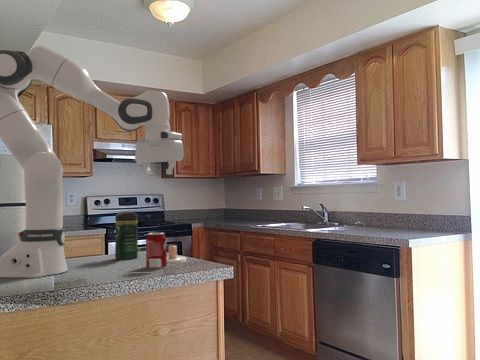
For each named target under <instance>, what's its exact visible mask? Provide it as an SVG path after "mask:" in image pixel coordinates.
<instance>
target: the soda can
mask: <svg viewBox="0 0 480 360" xmlns="http://www.w3.org/2000/svg"><path fill="white" fill-rule="evenodd" d="M167 240H168V239H167V237H166V235H165V232H161V231H160V232H159V231H158V232H157V231H155V232H154V231H153V232H148V233H147V237H146V238H145V252H146V253H145V256H146V257H145V263H146V264H145V267H146V269H150V270H158V269H159V270H160V269H165V268H167V264H168V263H167V257H168V254H167V247H168V245H167V244H168V243H167Z"/></svg>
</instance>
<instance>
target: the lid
mask: <svg viewBox="0 0 480 360" xmlns="http://www.w3.org/2000/svg"><path fill="white" fill-rule="evenodd" d="M177 246H178V245H168V256H167V264H171V263H173V264H174V262H182V263H184V262H183V261H186V262H187V257H186V256H178V255H177V254H178V252H177V251H178V249H177V248H178V247H177Z"/></svg>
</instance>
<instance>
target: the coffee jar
mask: <svg viewBox="0 0 480 360" xmlns="http://www.w3.org/2000/svg"><path fill="white" fill-rule="evenodd" d="M138 219H139V218H138V214H137V213H136V212H134V211H130V210H129V211H128V210H126V211H120V212H118V213H116V214H115V221H114V222H115V247H114V248H115V252H114V254H115V255H114V257H115V259H116V260H118V261H127V260H136V259H138V257H139V256H138V254H139V251H138V250H139V248H138V246H139V245H138V243H139V242H138V241H139V240H138V228H139V227H138V223H139V222H138V221H139V220H138Z"/></svg>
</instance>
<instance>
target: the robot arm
mask: <svg viewBox="0 0 480 360" xmlns="http://www.w3.org/2000/svg"><path fill="white" fill-rule="evenodd" d="M33 80H38V81H41V82H44V83H46V84H47V85H49V86H51V87H52V88H54V89H56V90H57V91H60V92H62V93H64V94H67V95H69V96H72V97H74V98H76V99H78V100H81V101H83V102H85V103H88V105H91V106H92V107H94V108H96V109H97V110H99V111H101V112H103V113H104V114H106V115H107V116H109V117H110V118H111V119H112V120H113V121H114V122H115V123H116V124H117V125H118V127H119V128H120V129H121V130H123V131H126V132H133V133H134V132H136V131H138V130H140V129H141V128H142V127H143V126H144V133H145V134H144V136H145V137H142V138H139V139H138V140H137V142H136V145H135V151H134V153H135V156H134V160H135V162H136V164H142V165H143V168H144V170H145V176H146V177H150V176H153V172H154V171H153V170H151V168H150V167H151V164H155V163H167V165H168V167H167V168H166V169H165V173H166V175H173V170H174V167H175V165H176V162H179V161H181V162H182V161H183V159H184V158H185V157H184V156H185V154H184V143H183V141H182V139H183V134H182V133H181V132H180V133H178V132H175V131H172V130H171V125H170V116H171V113H170V102H169V98H168V96H167V94H166V93H165V92H163V91H162V90H158V89H147V90H146V91H144V92H143V93H141V94H139V95H137V96H134V97H130V98H126V99H124V100H122V101H118V100H117V99H115V98H114V97H112V96H111V95H109V94H108V93H106V92H104V91H103V90H102V89H100V88H99V87H98V86H97V85H96V84H95V82H94V80H93V79H92V77H91V75H90V74H89V72H88V71H87V70H86V69H85V68H84V67H83V66H82V65H80V63H78V62H77V61H75V60H74V59H72V58H70V57H69V56H67V55H65V54H62V53H61V52H58V51H57V50H55V49H53V48H50V47H48V46H44V45H36V46H34V47H32V48H30V49H29V51H28V52H27V53H26V52H24V51H20V50H19V51H18V50H10V49H9V50H7V49H1V50H0V140H1V141H2V143H4V145H5V147H6V148H7V149H8V151H9V152H10V153H11V154H12V156H13V157H14V159H15V160H16V161H17V163H18V164H19V166H21V169H22V170H23V174H24V175H23V177H24V178H23V179H24V196H25V197H24V198H25V229H23V230H22V231H20V232H17V234H18V235H17V237H19V241H18V242H17V243H15V244H14V245H13V246H12V247H11V248H9V249H8V250H6V251H5V252H4V253H3V254H1V256H0V278H40V277H45V276H51V275H58V274H61V273H65V272H68V270H69V268H68V265H67V262H66V256H65V248H64V245H65V241H66V240H65V238H66V237H65V228H64V227H63V226H64V224H63V223H64V218H63V217H64V215H63V214H64V212H63V211H64V210H63V209H64V207H63V206H64V205H63V204H64V200H63V198H64V197H63V196H64V195H63V193H64V192H63V175H64V167H63V164H62V162H61V160H60V159H59V157H58V156H57V155H56V153H55V151H54V150H53V149H52V147H51V146H50V145H49V143H48V142H47V140H46V139H45V138H44V137H45V136H44V135H43V134H42V132H41V131H40V129H39V128H38V126H37V125H36V123H35V122H34V120H33V119H32V117H31V116H30V114H29V113H28V112H27V110H26V109H25V108H24V106H23V105H22V102H20V99H19V97H20V96H22V95H23V94H24V93H25V92H26V91H27V90H28V89H29V88H30V86H31V85H32V81H33Z"/></svg>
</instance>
